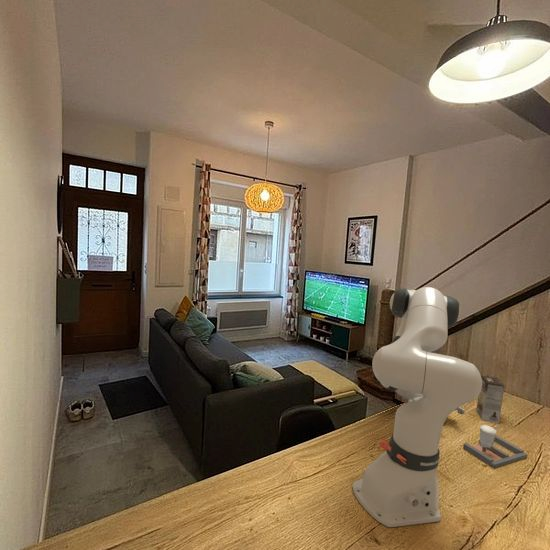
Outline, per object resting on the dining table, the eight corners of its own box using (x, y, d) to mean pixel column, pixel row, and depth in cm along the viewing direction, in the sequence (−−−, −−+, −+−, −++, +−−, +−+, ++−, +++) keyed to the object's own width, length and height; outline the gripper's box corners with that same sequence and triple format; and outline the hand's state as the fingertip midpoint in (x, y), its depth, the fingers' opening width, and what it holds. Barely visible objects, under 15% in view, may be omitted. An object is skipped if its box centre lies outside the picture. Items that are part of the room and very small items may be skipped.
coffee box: (475, 410, 138) (480, 374, 136) (492, 413, 136) (497, 377, 134) (481, 420, 129) (487, 382, 128) (500, 424, 127) (505, 385, 126)
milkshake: (498, 458, 103) (502, 429, 102) (480, 455, 104) (484, 426, 103) (491, 450, 107) (495, 422, 107) (474, 447, 108) (478, 419, 108)
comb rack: (493, 468, 98) (494, 462, 98) (463, 448, 108) (463, 443, 108) (526, 457, 105) (527, 452, 105) (495, 440, 115) (496, 435, 115)
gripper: (405, 392, 124) (436, 409, 111) (442, 387, 132) (474, 402, 120) (404, 407, 125) (434, 426, 112) (440, 401, 133) (471, 418, 120)
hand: (455, 414), depth 116 cm, fingers open, 8 cm apart
